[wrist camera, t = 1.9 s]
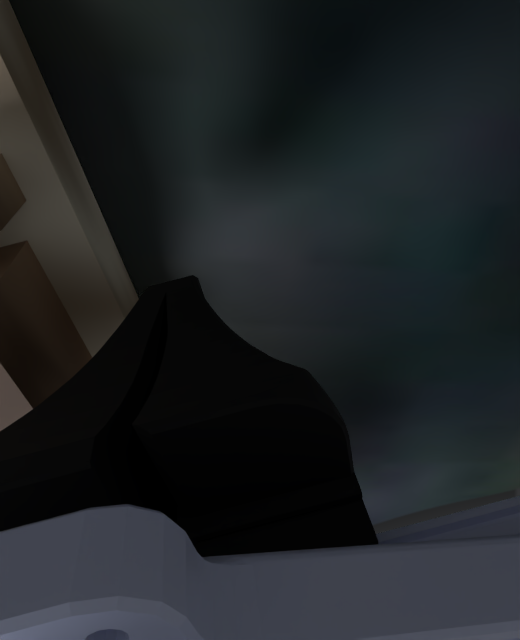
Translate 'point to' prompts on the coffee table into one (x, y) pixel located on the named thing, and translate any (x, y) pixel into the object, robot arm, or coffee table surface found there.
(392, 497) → the coffee table surface
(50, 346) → the block
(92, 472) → the robot arm
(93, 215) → the deck
